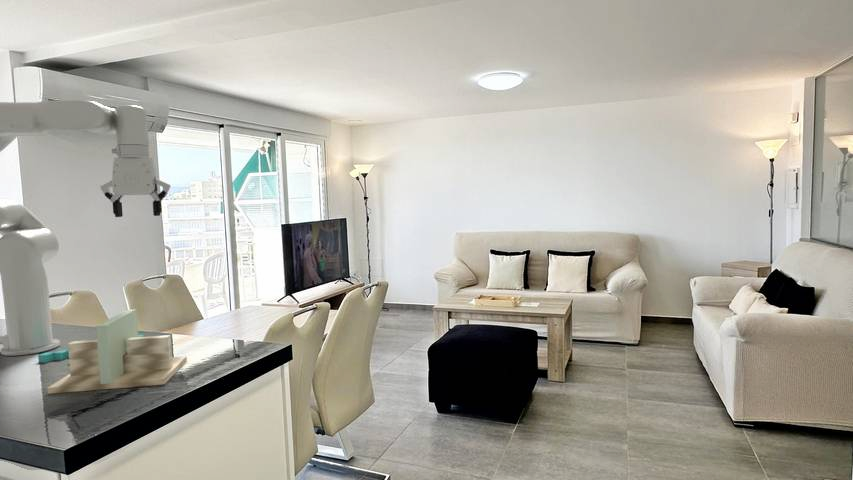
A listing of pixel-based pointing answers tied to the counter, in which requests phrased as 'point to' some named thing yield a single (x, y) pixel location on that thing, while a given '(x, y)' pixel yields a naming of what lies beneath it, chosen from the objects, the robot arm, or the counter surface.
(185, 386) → the counter surface
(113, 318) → the slotted plate
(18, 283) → the robot arm
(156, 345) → the cross stand
